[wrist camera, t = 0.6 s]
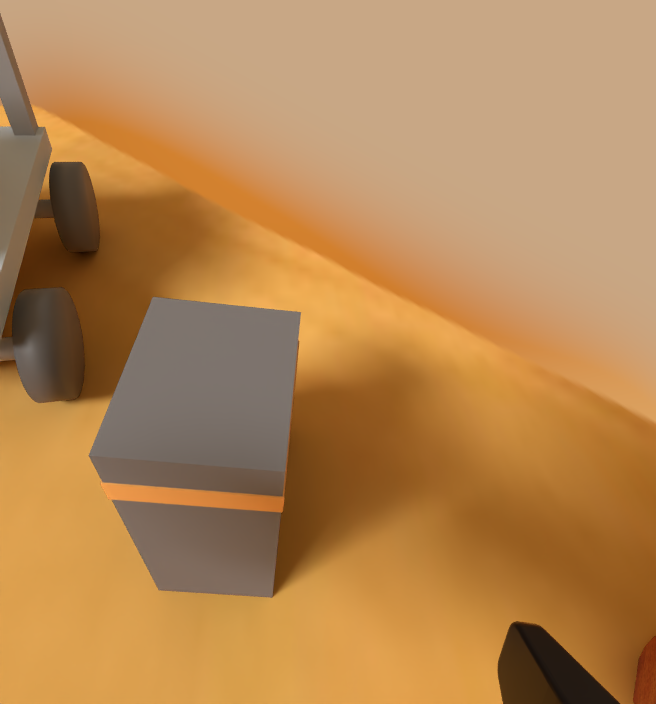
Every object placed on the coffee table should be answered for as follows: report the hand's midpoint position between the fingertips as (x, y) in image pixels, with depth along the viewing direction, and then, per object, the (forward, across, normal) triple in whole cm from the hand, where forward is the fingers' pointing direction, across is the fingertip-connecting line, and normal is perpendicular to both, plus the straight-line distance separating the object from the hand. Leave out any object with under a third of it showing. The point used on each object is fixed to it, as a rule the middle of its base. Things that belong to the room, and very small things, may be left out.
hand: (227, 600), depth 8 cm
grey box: (+15, +2, +9) cm, 17 cm away
